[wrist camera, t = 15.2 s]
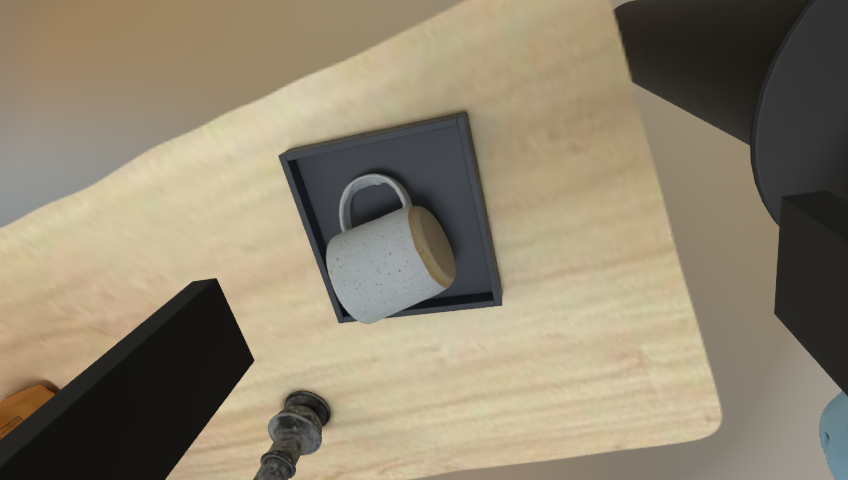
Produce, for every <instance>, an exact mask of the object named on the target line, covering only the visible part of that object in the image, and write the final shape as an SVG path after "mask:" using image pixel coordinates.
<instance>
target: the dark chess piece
mask: <svg viewBox="0 0 848 480" xmlns="http://www.w3.org/2000/svg"><path fill="white" fill-rule="evenodd" d="M329 419H330V409H329V407H328V405H327V403H326V402H325V401H324V400H323V399H322V398H320V397H319V396H318V395H315V394H313V393H311V392H307V391H297V392H294V393H292V394H290V395H289V396H288V397H287V398H286V401H285V409H284V410H282V411H281V412H279V413H278V414H277V415H275V416H274V417H273V418H272V419H271V420H270V421H269V424H268V432H269V435H270V437H271V439H272V440H273V444H272V446H271V448H270V449H269V451H268V452H267V453H265V454H264V455H263V456H262V457H261V460H260V461H261V467H260V469H259V471H258V472H257V474H256V476H255V478H254V479H253V480H288V479H289V478H292V477H293V476H294V475H295V472H296V467H295V465H296V463H297V461H298V459H299V457H300V456H301V455H309V454H312V453H314V452H316V451H317V450H318V449H319V447H320V445H321V442H322V437H321V435H322V426H324V425H325V424H326V423H327V422H328V421H329Z"/></svg>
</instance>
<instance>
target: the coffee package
mask: <svg viewBox="0 0 848 480" xmlns="http://www.w3.org/2000/svg"><path fill="white" fill-rule="evenodd" d="M54 395H55V394H54V393H53V392H51V391H49V390H48V389H46V388H45V387H44V386H43V385H37V386H33V387H31V388H28V389H26V390H24V391H21V392H19V393H17V394H15V395H13V396H11V397H9V398H7V399H5V400H3V401H2V402H0V440H1V439H2V438H3V437H4V436H5V435H7V434H8V433H9V432H10V431H12V430H13V429H14V428H15V427H16V426H18V425H19V424H20V423H21V422H22V421H24V420H25V419H26V418H27V417H29V416H30V415H31V414H32V413H33V412H35V411H36V410H37V409H38V408H39V407H41V406H42V405H43V404H44V403H46V402H47V401H48V400H49V399H50V398H52V397H53V396H54Z"/></svg>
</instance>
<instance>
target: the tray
mask: <svg viewBox="0 0 848 480" xmlns="http://www.w3.org/2000/svg"><path fill="white" fill-rule="evenodd" d="M279 159H280V162H281V165H282V167H283V170H284V173H285V176H286V178H287V181H288V184H289V187H290V189H291V192H292V195H293V198H294V201H295V203H296V206H297V209H298V212H299V214H300V217H301V220H302V223H303V225H304V228H305V231H306V234H307V236H308V239H309V242H310V245H311V247H312V250H313V253H314V256H315V258H316V261H317V264H318V267H319V270H320V272H321V275H322V278H323V281H324V283H325V286H326V289H327V292H328V294H329V297H330V300H331V303H332V305H333V308H334V311H335V314H336V316H337V319H338V322H339V323H345V322H354V321H357V320H356V319H355V318H353V317H352V316H351V315H350V314H349V313H348V312H347V310H346V309H345V308H344V307H343V305H342V304H341V302H340V301H339V299H338V297H337V295H336V293H335V291H334V289H333V286H332V283H331V280H330V277H329V274H328V269H327V260H326V254H327V247H328V244H329V242H330V240H331V239H332V238H333V237H335V236H336V235H338V234H340V233H341V232H342V230H341V225H340V217H339V207H340V200H341V197H342V195H343V192H344V190H345V188H346V187H347V186H348V184H349V183H351V182H352V181H354V180H355V179H356V178H359V177H361V176H364V175H368V174H381V175H386V176H389V177H392V178H393V179H395V180H397V181H398V182H399V183H400V184H401V185H402V186H403V188H404V189H405V190H406V192H407V193H408V195H409V197H410V200H411V203H412V205H413V206H421V207H423V208H426V209H427V210H428V211H430V212H431V213H432V214H433V215H434V217H435V218H436V219H437V221H438V222H439V224H440V225H441V227H442V229H443V231H444V233H445V235H446V237H447V239H448V242H449V244H450V246H451V249H452V252H453V256H454V260H455V265H456V275H455V279H454V281H453V283H452V284H451V285H450V286H449V287H448V288H447V289H445V290H443V291H442V292H440V293H439V294H437V295H435V296H433V297H430V298H428V299H426V300H423V301H421V302H419V303H417V304H414V305H412V306H410V307H408V308H405V309H403V310H401V311H399V312H396V313H394V314H392V315H390V316H387V317H385V318H392V317H401V316H410V315H419V314H429V313H438V312H447V311H457V310H466V309H475V308H484V307H494V306H502V288H501V283H500V278H499V273H498V268H497V263H496V258H495V253H494V248H493V243H492V238H491V233H490V228H489V222H488V217H487V212H486V207H485V202H484V197H483V192H482V187H481V182H480V177H479V172H478V167H477V161H476V156H475V151H474V146H473V141H472V136H471V131H470V126H469V121H468V116H467V112H461V113H456V114H452V115H447V116H442V117H438V118H433V119H428V120H424V121H419V122H414V123H410V124H405V125H400V126H396V127H391V128H386V129H382V130H377V131H372V132H368V133H363V134H358V135H354V136H349V137H344V138H340V139H335V140H330V141H326V142H321V143H316V144H312V145H307V146H302V147H298V148H293V149H289V150H287V151H285V152H284V153H282V154H280V155H279ZM401 208H403V203H402V202H401V200H400V197H399V195H398V194H397V192H396V191H395V189H394V188H393V187H392V186H390V185H389V184H388V183H386V182H385V183H382V184H380V185H376V184H374V185H370V186H367V187H365V188H362V189H359V190H358V191H357V192H356V193H355V194H354V195H353V197H352V200H351V204H350V219H351V225H352V228H355V227H358V226H359V225H362V224H365V223H367V222H370V221H373V220H376V219H378V218H380V217H382V216H384V215H387V214H389V213H392V212H394V211H396V210H398V209H401Z"/></svg>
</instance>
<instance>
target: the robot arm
mask: <svg viewBox="0 0 848 480" xmlns="http://www.w3.org/2000/svg"><path fill="white" fill-rule="evenodd" d="M774 314H775V315H776V316H777V317H778V318H779V319H780V320H781V322H782V323H783V324H784V325H785V326H786V327H787V328H788V329H789V331H790V332H791V333H792V334H793V335H794V336H795V337H796V339H797V340H798V341H799V342H800V343H801V344H802V345H803V347H804V348H805V349H806V350H807V351H808V352H809V353H810V354H811V356H812V357H813V358H814V359H815V360H816V361H817V362H818V363H819V364H820V366H821V367H822V368H823V369H824V370H825V371H826V372H827V374H828V375H829V376H830V377H831V378H832V379H833V380H834V382H835V383H836V384H837V385H838V386H839V387H840V388H841V389H842V392H841V393H840V394H838V396H836V397H835V398H834V399H833V400H832V401H831V402H830V403H829V404H828V405H827V406H826V408H825V409H824V411H823V413H822V416H821V419H820V424H819V435H820V439H821V446H822V448H823V450H824V453H825V455H826V460H827V464H828V466H829V469H830V470H831V473H832V475H833V477H834V478H835V480H848V201H846V200H844V199H843V198H841V197H839V196H837V195H835V194H833V193H832V192H830V191H828V190H823V191H816V192H809V193H802V194H795V195H788V196H782V197H781V212H780V228H779V246H778V261H777V278H776V294H775V310H774ZM253 362H254V358H253V356H252V354H251V352H250V350H249V348H248V345H247V343H246V341H245V339H244V337H243V335H242V332H241V330H240V328H239V326H238V324H237V322H236V319H235V317H234V315H233V313H232V311H231V309H230V306H229V304H228V302H227V300H226V298H225V296H224V293H223V291H222V289H221V287H220V285H219V283H218V280H217V278H214V279H207V280H200V281H193V282H191V283H190V284H189V285H188V286H186V287H185V288H184V289H183V290H182V291H180V292H179V293H178V294H177V295H175V296H174V297H173V298H172V299H171V300H169V301H168V302H167V303H166V304H165V305H163V306H162V307H161V308H160V309H158V310H157V311H156V312H155V313H154V314H152V315H151V316H150V317H149V318H148V319H146V320H145V321H144V322H143V323H141V324H140V325H139V326H138V327H137V328H135V329H134V330H133V331H132V332H131V333H129V334H128V335H127V336H126V337H124V338H123V339H122V340H121V341H120V342H118V343H117V344H116V345H115V346H114V347H112V348H111V349H110V350H109V351H107V352H106V353H105V354H104V355H103V356H101V357H100V358H99V359H98V360H97V361H95V362H94V363H93V364H92V365H90V366H89V367H88V368H87V369H86V370H84V371H83V372H82V373H81V374H80V375H78V376H77V377H76V378H75V379H73V380H72V381H71V382H70V383H69V384H67V385H66V386H65V387H64V388H63V389H61V390H60V391H59V392H58V393H56V394H55V395H54V396H53V397H52V398H50V399H49V400H48V401H47V402H46V403H44V404H43V405H42V406H41V407H39V408H38V409H37V410H36V411H35V412H33V413H32V414H31V415H30V416H29V417H27V418H26V419H25V420H24V421H22V422H21V423H20V424H19V425H18V426H16V427H15V428H14V429H13V430H12V431H10V432H9V433H8V434H7V435H5V436H4V437H3V438H2V439H1V440H0V480H165V479H166V478H167V476H168V475H169V474H170V472H171V471H172V470H173V468H174V467H175V466H176V464H177V463H178V462H179V460H180V459H181V458H182V456H183V455H184V454H185V452H186V451H187V450H188V448H189V447H190V446H191V444H192V443H193V442H194V440H195V439H196V438H197V436H198V435H199V434H200V433H201V431H202V430H203V429H204V427H205V426H206V425H207V423H208V422H209V421H210V419H211V418H212V417H213V415H214V414H215V413H216V411H217V410H218V409H219V407H220V406H221V405H222V403H223V402H224V401H225V399H226V398H227V397H228V395H229V394H230V393H231V391H232V390H233V389H234V387H235V386H236V385H237V383H238V382H239V381H240V379H241V378H242V377H243V375H244V374H245V373H246V371H247V370H248V369H249V367H250V366H251V365H252V363H253Z"/></svg>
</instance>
